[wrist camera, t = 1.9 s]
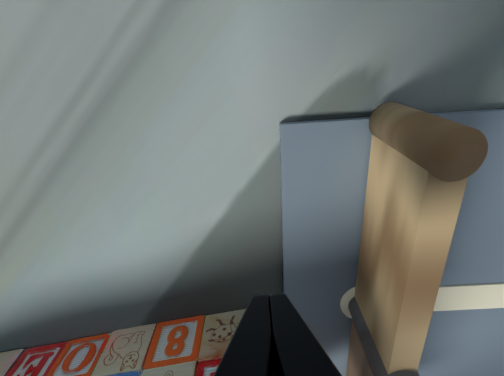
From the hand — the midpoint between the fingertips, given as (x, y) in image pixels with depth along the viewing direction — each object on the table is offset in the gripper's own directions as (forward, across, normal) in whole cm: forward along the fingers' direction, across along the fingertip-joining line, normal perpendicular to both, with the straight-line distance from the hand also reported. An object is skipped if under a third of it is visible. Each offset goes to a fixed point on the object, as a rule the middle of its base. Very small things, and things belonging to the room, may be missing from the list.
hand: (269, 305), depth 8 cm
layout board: (+7, -9, +7) cm, 13 cm away
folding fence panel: (+7, -5, +2) cm, 9 cm away
